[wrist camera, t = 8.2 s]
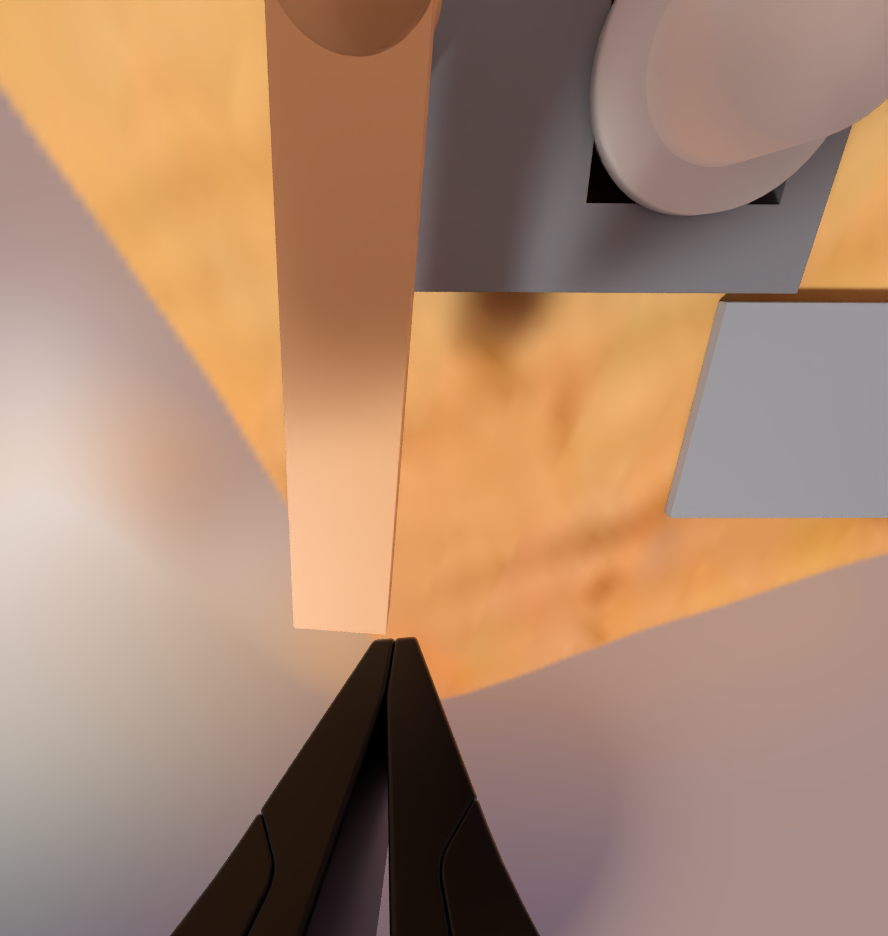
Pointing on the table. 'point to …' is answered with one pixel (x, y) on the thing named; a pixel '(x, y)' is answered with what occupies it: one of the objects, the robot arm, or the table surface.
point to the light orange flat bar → (346, 284)
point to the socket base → (573, 176)
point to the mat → (788, 414)
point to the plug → (729, 93)
